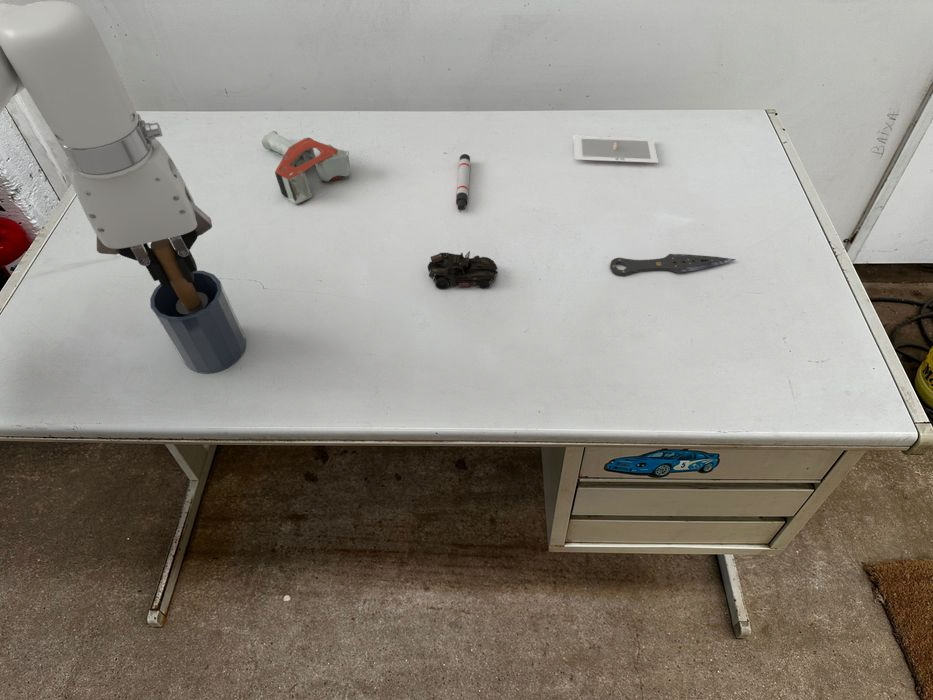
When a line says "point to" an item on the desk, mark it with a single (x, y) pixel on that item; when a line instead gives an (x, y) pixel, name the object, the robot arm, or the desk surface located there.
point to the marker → (463, 181)
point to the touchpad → (614, 149)
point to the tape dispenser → (304, 164)
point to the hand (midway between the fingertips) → (178, 277)
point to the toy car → (461, 270)
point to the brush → (178, 280)
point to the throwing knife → (667, 263)
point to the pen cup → (201, 326)
